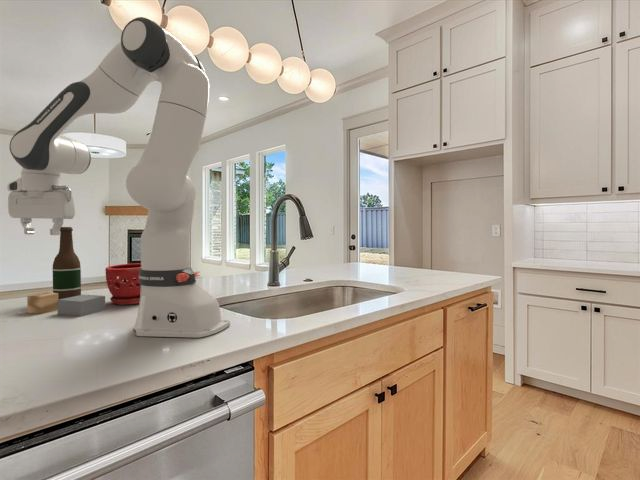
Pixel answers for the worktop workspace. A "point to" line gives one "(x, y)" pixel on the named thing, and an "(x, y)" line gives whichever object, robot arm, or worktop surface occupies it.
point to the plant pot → (124, 283)
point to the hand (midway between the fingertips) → (41, 234)
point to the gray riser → (81, 305)
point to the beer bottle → (66, 267)
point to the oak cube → (42, 303)
